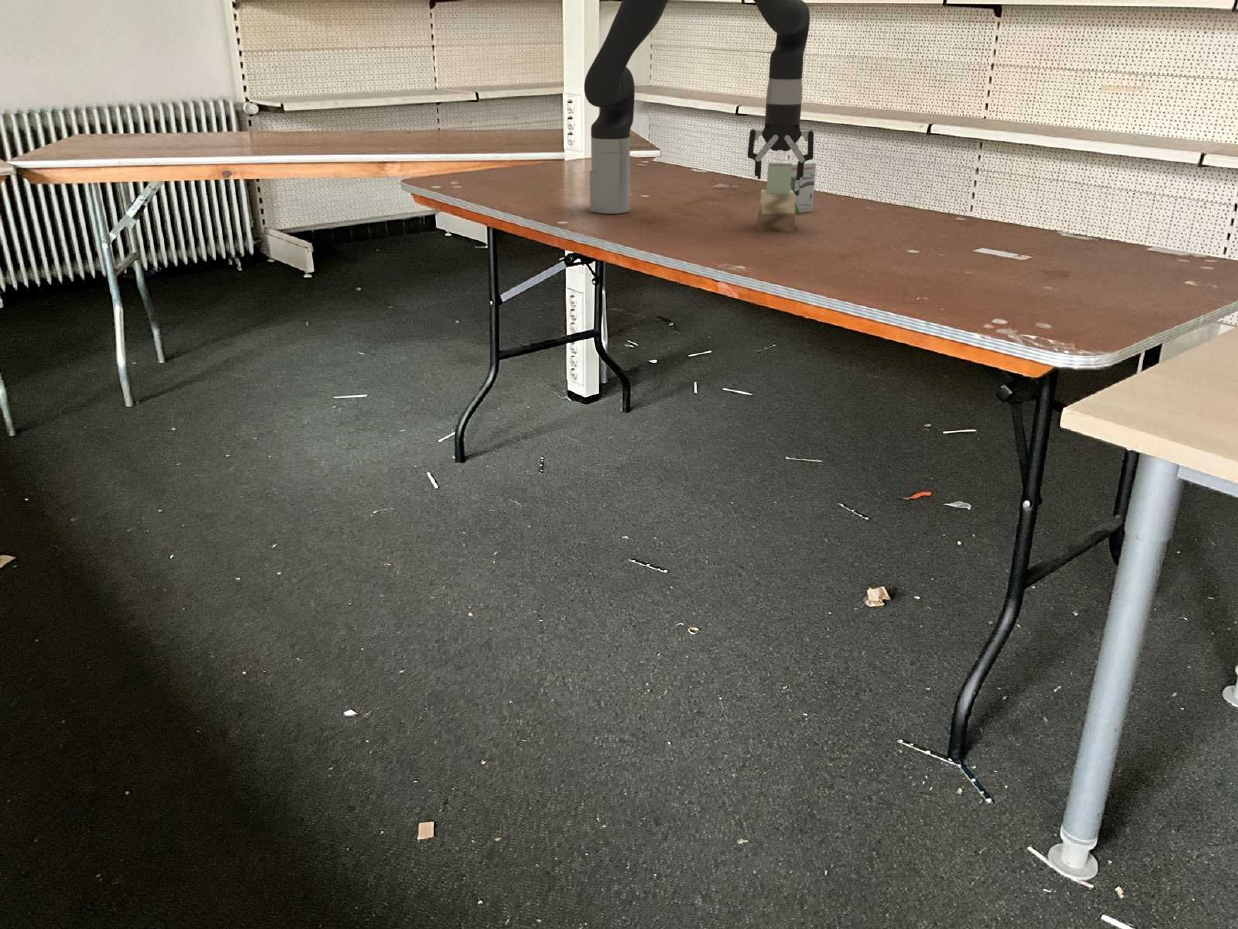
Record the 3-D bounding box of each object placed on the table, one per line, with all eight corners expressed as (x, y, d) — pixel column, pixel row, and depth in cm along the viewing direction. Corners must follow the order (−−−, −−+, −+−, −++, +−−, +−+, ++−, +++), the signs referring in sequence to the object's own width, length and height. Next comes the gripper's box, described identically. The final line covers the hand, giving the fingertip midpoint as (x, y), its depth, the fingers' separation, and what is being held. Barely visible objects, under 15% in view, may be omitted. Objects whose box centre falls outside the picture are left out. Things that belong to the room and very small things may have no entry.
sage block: (766, 193, 215) (768, 165, 212) (767, 190, 219) (769, 162, 217) (789, 194, 214) (791, 166, 211) (789, 190, 218) (792, 163, 216)
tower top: (762, 213, 215) (763, 195, 213) (760, 207, 221) (761, 189, 220) (794, 213, 215) (795, 195, 213) (790, 207, 221) (792, 189, 219)
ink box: (784, 215, 233) (788, 163, 228) (772, 211, 237) (775, 161, 232) (813, 211, 237) (817, 161, 232) (800, 208, 241) (803, 158, 236)
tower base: (757, 231, 217) (758, 213, 215) (759, 224, 224) (760, 206, 222) (793, 232, 216) (794, 214, 214) (794, 225, 223) (795, 208, 221)
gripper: (749, 102, 206) (745, 181, 213) (818, 103, 204) (811, 182, 211) (750, 99, 213) (746, 175, 219) (817, 100, 211) (810, 177, 217)
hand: (778, 179), depth 215 cm, fingers open, 8 cm apart
